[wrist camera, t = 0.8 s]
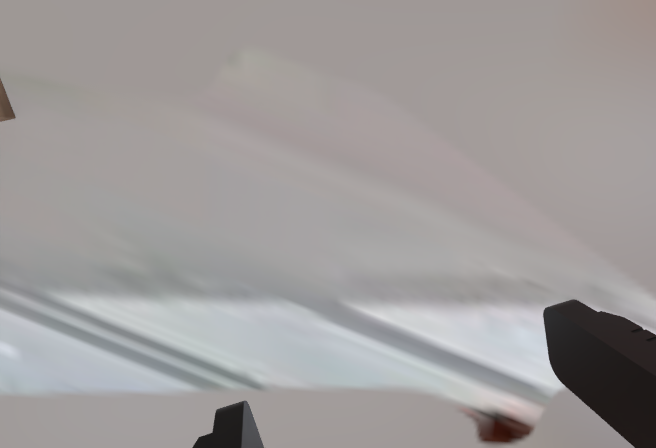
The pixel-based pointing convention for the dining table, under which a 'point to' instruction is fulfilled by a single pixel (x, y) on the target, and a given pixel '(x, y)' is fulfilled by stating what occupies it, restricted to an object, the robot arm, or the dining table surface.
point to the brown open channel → (5, 105)
